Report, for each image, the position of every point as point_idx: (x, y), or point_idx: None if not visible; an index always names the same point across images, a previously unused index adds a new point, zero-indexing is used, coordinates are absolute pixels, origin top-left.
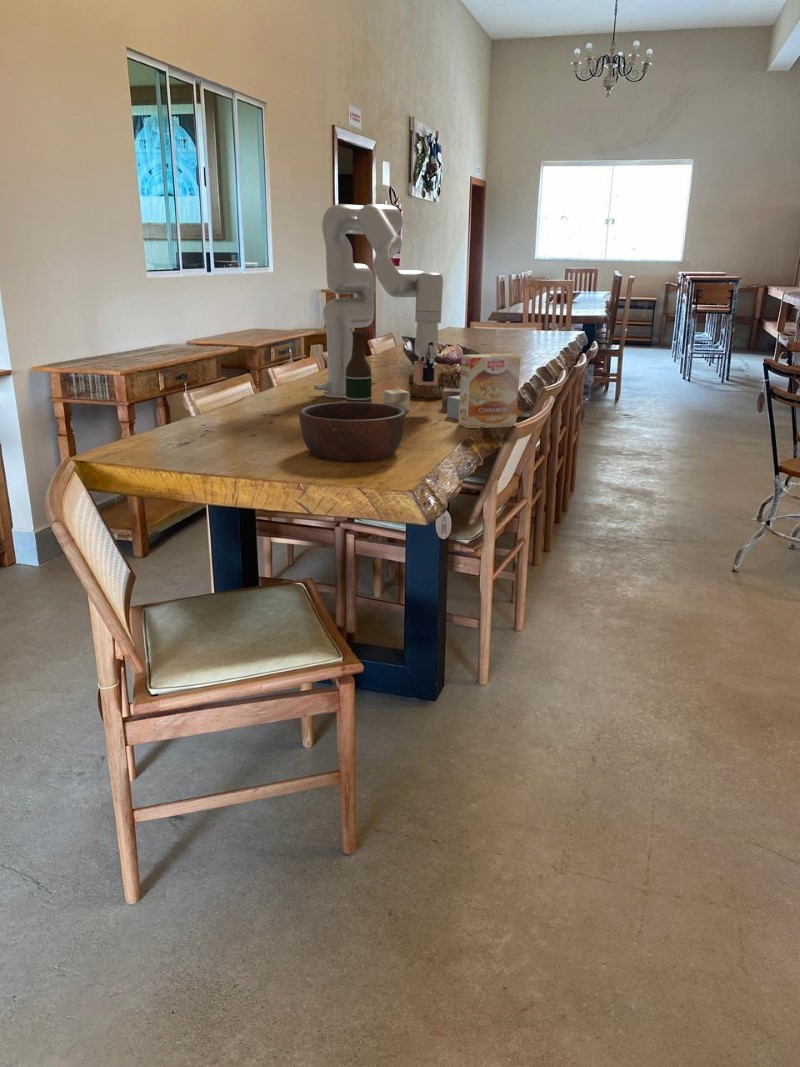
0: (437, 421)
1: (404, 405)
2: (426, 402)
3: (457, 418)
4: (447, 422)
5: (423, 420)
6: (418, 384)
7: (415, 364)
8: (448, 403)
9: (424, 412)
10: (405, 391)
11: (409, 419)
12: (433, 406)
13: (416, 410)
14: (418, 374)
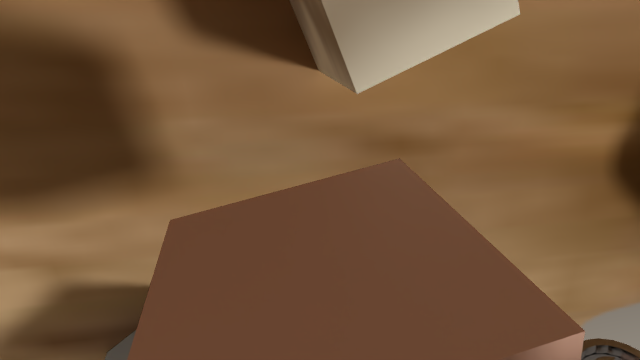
0: (15, 256)
1: (313, 38)
2: (602, 157)
3: (122, 343)
4: (3, 307)
5: (18, 175)
6: (170, 230)
7: (418, 335)
8: None
9: (309, 164)
10: (410, 51)
11: (22, 79)
12: (489, 199)
13: (372, 114)
14: (145, 310)
